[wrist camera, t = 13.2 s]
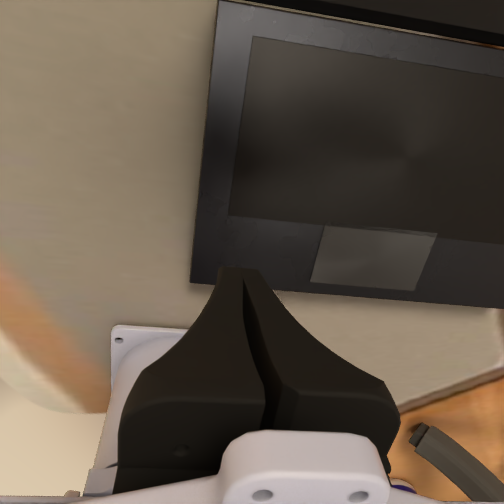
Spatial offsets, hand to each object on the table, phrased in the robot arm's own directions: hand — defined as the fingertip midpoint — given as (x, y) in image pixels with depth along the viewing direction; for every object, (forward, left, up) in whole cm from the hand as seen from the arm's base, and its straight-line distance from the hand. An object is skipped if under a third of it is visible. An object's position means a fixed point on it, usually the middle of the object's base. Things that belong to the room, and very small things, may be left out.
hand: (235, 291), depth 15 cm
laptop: (+1, -8, -10) cm, 13 cm away
